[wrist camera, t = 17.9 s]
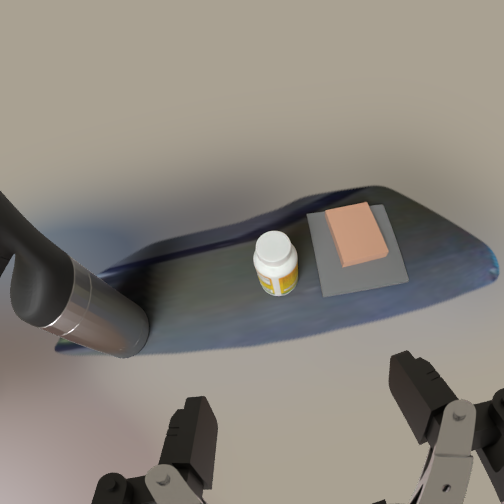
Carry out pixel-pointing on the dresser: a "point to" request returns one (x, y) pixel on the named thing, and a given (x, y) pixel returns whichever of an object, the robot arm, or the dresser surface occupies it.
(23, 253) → the robot arm
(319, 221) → the rubber mat
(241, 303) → the dresser surface
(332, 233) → the terracotta tile
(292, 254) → the supplement bottle
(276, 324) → the dresser surface
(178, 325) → the dresser surface
